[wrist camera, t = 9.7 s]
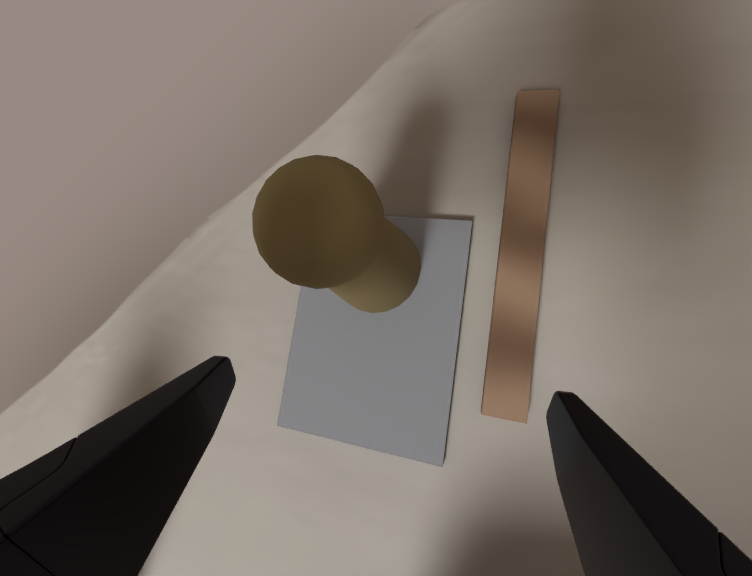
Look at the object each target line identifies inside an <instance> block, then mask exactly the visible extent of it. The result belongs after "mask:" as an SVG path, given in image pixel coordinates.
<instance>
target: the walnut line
mask: <svg viewBox="0 0 752 576" xmlns="http://www.w3.org/2000/svg"><path fill="white" fill-rule="evenodd" d="M559 92H560V90H529V91H518V92H517V97H516V102H515V111H514V120H513V129H512V138H511V147H510V156H509V165H508V174H507V182H506V191H505V200H504V209H503V218H502V227H501V236H500V245H499V254H498V263H497V272H496V280H495V289H494V298H493V307H492V316H491V325H490V334H489V343H488V352H487V361H486V369H485V378H484V387H483V396H482V405H481V414H482V415H487V416H492V417H497V418H502V419H507V420H512V421H517V422H522V423H526V424H527V415H528V405H529V395H530V385H531V375H532V365H533V355H534V345H535V334H536V324H537V314H538V304H539V294H540V284H541V274H542V264H543V253H544V243H545V233H546V223H547V213H548V203H549V193H550V183H551V173H552V162H553V152H554V142H555V132H556V122H557V112H558V102H559Z"/></svg>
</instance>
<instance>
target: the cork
mask: <svg viewBox="0 0 752 576" xmlns="http://www.w3.org/2000/svg"><path fill="white" fill-rule="evenodd" d="M252 215H253V235H254V239H255V242H256V245H257V248H258V251H259V254H260V255H261V256H262V258H263V259H264V260H265V261H266V263H267V264H268V265H269V267H270V268H271V269H272V270H273V271H274V272H275V273H276V274H278V275H279V276H281V277H283V278H284V279H286V280H287V281H289V282H290V283H292V284H296V285H300V286H304V287H309V288H313V289H323V288H329V289H330V290H331V291H332V292H334V293H335V294H336V295H338V296H339V297H340V298H342V299H343V300H344V301H345V302H347V303H348V304H350V305H351V306H353V307H355V308H356V309H358V310H361V311H365V312H369V313H378V312H387V311H389V310H391V309H393V308H396V307H398V306H400V305H401V304H402V303H403V302H404V301H405V300H406V299H408V298H409V297H410V296H411V294H412V292H413V291H414V289H415V287H416V286H417V284H418V280H419V275H420V271H421V265H420V255H419V253H418V251H417V248H416V246H415V244H414V242H413V241H412V240H411V239H410V238H409V237H408V236H407V235H406V233H405V232H403V231H402V230H401V229H400V228H398V227H397V226H396V225H395V224H393V223H392V222H391V221H390V220H388V219H387V218H386V217H384V214H383V206H382V204H381V201H380V199H379V197H378V194H377V192H376V190H375V188H374V186H373V184H372V183H371V182H370V181H369V179H368V178H367V177H366V176H365V175H364V174H363V173H362V172H361V171H360V170H359V169H358V168H356V167H354V166H353V165H351V164H349V163H347V162H345V161H343V160H341V159H339V158H337V157H330V156H321V155H314V156H308V157H303V158H298V159H294V160H292V161H291V162H289V163H287V164H285V165H283V166H282V167H280V168H278V169H277V170H276V171H275V172H274V173H273V174H272V175H271V176H270V177H269V178H268V179H267V180H266V182H265V183H264V185H263V187H262V189H261V190H260V192H259V194H258V195H257V198H256V202H255V206H254V209H253V213H252Z"/></svg>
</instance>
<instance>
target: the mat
mask: <svg viewBox="0 0 752 576" xmlns="http://www.w3.org/2000/svg"><path fill="white" fill-rule="evenodd" d="M384 217H386V218H387V219H388V220H390V221H391V222H392V223H393V224H395V225H396V226H397V227H398V228H400V229H401V230H402V231H403V232H405V233H406V235H407V236H408V237H409V238H410V239H411V240H412V241H413V242H414V244H415V246H416V248H417V251H418V253H419V255H420V265H421V271H420V275H419V280H418V284H417V286H416V287H415V289H414V291H413V292H412V294H411V296H410V297H409V298H408V299H406V300H405V301H404V302H403V303H402V304H401V305H400V306H398V307H396V308H393V309H391V310H389V311H387V312H378V313H369V312H365V311H361V310H358V309H356V308H355V307H353V306H351V305H350V304H348V303H347V302H345V301H344V300H343V299H342V298H340V297H339V296H338V295H336V294H335V293H334V292H332V291H331V290H330V289H329V288H323V289H313V288H309V287H304V286H301V288H300V294H299V300H298V306H297V312H296V318H295V324H294V329H293V335H292V341H291V347H290V353H289V359H288V365H287V371H286V377H285V382H284V388H283V394H282V400H281V406H280V412H279V418H278V424H277V426H281V427H285V428H289V429H293V430H297V431H301V432H305V433H309V434H313V435H317V436H321V437H325V438H329V439H333V440H337V441H341V442H345V443H349V444H353V445H357V446H361V447H365V448H369V449H373V450H376V451H380V452H384V453H388V454H392V455H396V456H400V457H404V458H408V459H412V460H416V461H420V462H424V463H428V464H432V465H436V466H440V467H443V459H444V451H445V443H446V435H447V427H448V418H449V410H450V402H451V394H452V385H453V377H454V369H455V361H456V352H457V344H458V336H459V328H460V319H461V311H462V303H463V295H464V286H465V278H466V270H467V262H468V253H469V245H470V237H471V229H472V221H466V220H450V219H434V218H418V217H402V216H386V215H384Z"/></svg>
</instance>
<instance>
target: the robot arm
mask: <svg viewBox="0 0 752 576" xmlns="http://www.w3.org/2000/svg"><path fill="white" fill-rule="evenodd" d="M235 382H236V377H235V373H234V370H233V367H232V364H231V361H230V359H229V358H228V357H224V356H213V357H211V358H209V359H208V360H206V361H204V362H203V363H201V364H199V365H197V366H196V367H194V368H192V369H191V370H189V371H187V372H186V373H184V374H182V375H180V376H179V377H177V378H175V379H174V380H172V381H170V382H168V383H167V384H165V385H163V386H162V387H160V388H158V389H157V390H155V391H153V392H151V393H150V394H148V395H146V396H145V397H143V398H141V399H140V400H138V401H136V402H134V403H133V404H131V405H129V406H128V407H126V408H124V409H123V410H121V411H119V412H117V413H116V414H114V415H112V416H111V417H109V418H107V419H105V420H104V421H102V422H100V423H99V424H97V425H95V426H94V427H92V428H90V429H88V430H87V431H85V432H83V433H82V434H80V435H78V437H77V438H73V439H71V440H70V441H68V442H66V443H64V444H63V445H61V446H59V447H58V448H56V449H54V450H52V451H51V452H49V453H47V454H45V455H44V456H42V457H40V458H38V459H37V460H35V461H33V462H31V463H30V464H28V465H26V466H24V467H22V468H20V469H18V470H17V471H15V472H13V473H11V474H9V475H7V476H5V477H4V478H2V479H0V576H138V574H139V572H140V570H141V569H142V567H143V565H144V563H145V561H146V559H147V558H148V556H149V554H150V552H151V550H152V548H153V546H154V545H155V543H156V541H157V539H158V537H159V535H160V533H161V532H162V530H163V528H164V526H165V524H166V522H167V520H168V519H169V517H170V515H171V513H172V511H173V509H174V507H175V506H176V504H177V502H178V500H179V498H180V496H181V494H182V493H183V491H184V489H185V487H186V485H187V483H188V482H189V480H190V478H191V476H192V474H193V472H194V470H195V469H196V467H197V465H198V463H199V461H200V459H201V457H202V456H203V454H204V452H205V450H206V448H207V446H208V444H209V443H210V441H211V439H212V437H213V435H214V433H215V431H216V428H217V426H218V424H219V421H220V419H221V417H222V414H223V412H224V409H225V407H226V405H227V402H228V400H229V397H230V395H231V393H232V390H233V388H234V385H235ZM546 418H547V426H548V431H549V437H550V442H551V448H552V454H553V459H554V465H555V471H556V476H557V480H558V484H559V488H560V492H561V495H562V499H563V502H564V505H565V509H566V512H567V516H568V519H569V523H570V526H571V529H572V533H573V536H574V540H575V543H576V547H577V550H578V553H579V557H580V560H581V564H582V567H583V571H584V574H585V576H752V560H751V559H750V558H749V557H748V556H747V555H745V554H744V553H743V552H742V551H741V550H740V549H739V548H738V547H737V546H736V545H735V544H734V543H733V542H732V541H731V540H729V539H728V538H727V537H726V536H725V535H724V534H723V533H721V532H718V529H717V527H716V526H714V525H713V524H712V523H711V522H710V521H709V520H708V519H707V518H706V517H705V516H704V515H703V514H702V513H701V512H700V511H699V510H697V509H696V508H695V507H694V506H693V505H692V504H691V503H690V502H689V501H688V500H687V499H686V498H685V497H684V496H683V495H682V494H681V493H679V492H678V491H677V490H676V489H675V488H674V487H673V486H672V485H671V484H670V483H669V482H668V481H667V480H666V479H665V478H664V477H663V476H661V475H660V474H659V473H658V472H657V471H656V470H655V469H654V468H653V467H652V466H651V465H650V464H649V463H648V462H647V461H646V460H645V459H643V458H642V457H641V456H640V455H639V454H638V453H637V452H636V451H635V450H634V449H633V448H632V447H631V446H630V445H629V444H628V443H627V442H625V441H624V440H623V439H622V438H621V437H620V436H619V435H618V434H617V433H616V432H615V431H614V430H613V429H612V428H611V427H610V426H608V425H607V424H606V423H605V422H604V421H603V420H602V419H601V418H600V417H599V416H598V415H597V414H596V413H595V412H594V411H593V410H592V409H590V408H589V407H588V406H587V405H586V404H585V403H584V402H583V401H582V400H581V399H580V398H579V397H578V396H577V395H575V394H574V393H572V392H564V391H556V392H555V393H554V395H553V397H552V400H551V402H550V405H549V408H548V410H547V416H546Z"/></svg>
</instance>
